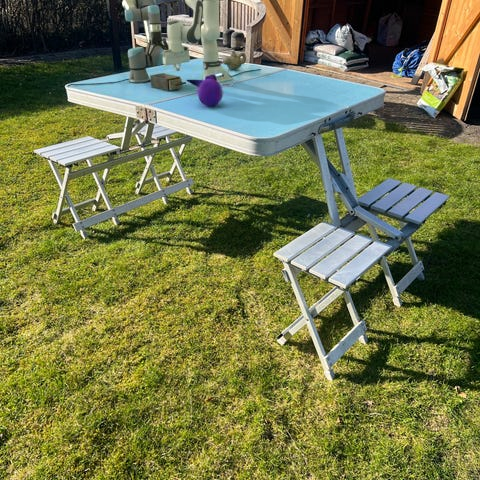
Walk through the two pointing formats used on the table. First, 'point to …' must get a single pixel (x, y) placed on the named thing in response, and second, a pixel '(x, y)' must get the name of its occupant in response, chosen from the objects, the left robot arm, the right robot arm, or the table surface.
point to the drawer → (176, 84)
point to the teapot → (234, 60)
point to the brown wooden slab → (162, 81)
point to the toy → (208, 90)
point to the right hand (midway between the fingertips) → (177, 70)
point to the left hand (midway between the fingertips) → (159, 64)
